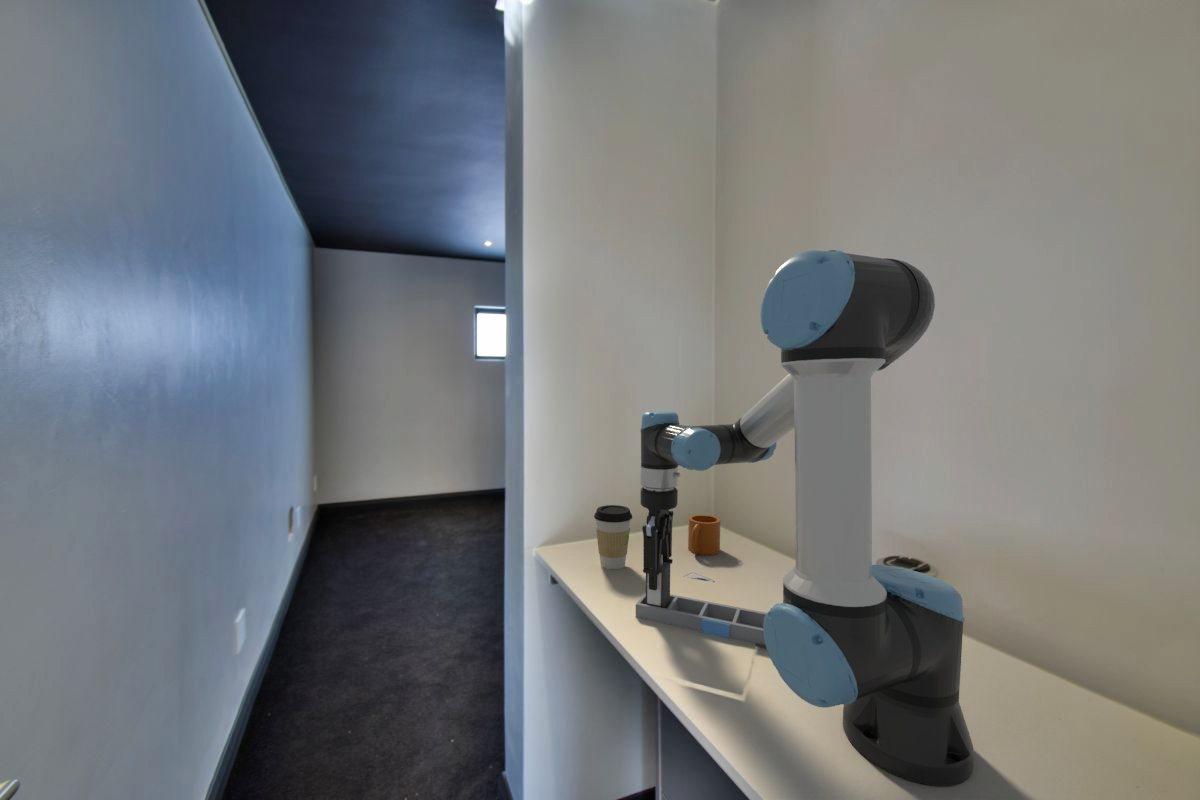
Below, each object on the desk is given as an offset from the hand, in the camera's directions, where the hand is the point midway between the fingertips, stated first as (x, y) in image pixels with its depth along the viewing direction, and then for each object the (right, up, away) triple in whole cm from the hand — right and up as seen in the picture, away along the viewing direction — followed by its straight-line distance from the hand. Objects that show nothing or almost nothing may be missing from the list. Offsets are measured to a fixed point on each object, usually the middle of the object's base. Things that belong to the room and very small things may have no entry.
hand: (657, 598), depth 103 cm
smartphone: (+8, -3, +14) cm, 17 cm away
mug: (+16, -2, +38) cm, 41 cm away
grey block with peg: (0, -3, 0) cm, 3 cm away
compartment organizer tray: (+9, -4, -4) cm, 10 cm away
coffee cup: (-9, -2, +26) cm, 27 cm away
